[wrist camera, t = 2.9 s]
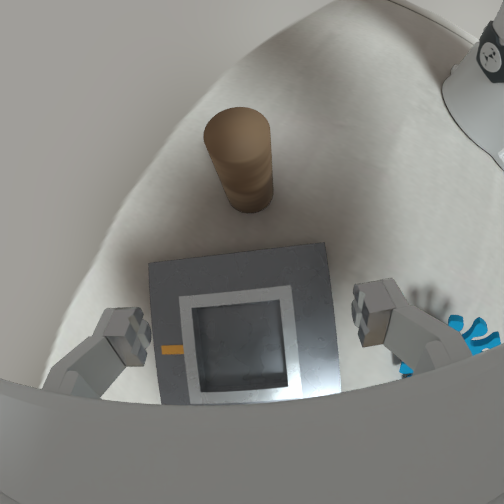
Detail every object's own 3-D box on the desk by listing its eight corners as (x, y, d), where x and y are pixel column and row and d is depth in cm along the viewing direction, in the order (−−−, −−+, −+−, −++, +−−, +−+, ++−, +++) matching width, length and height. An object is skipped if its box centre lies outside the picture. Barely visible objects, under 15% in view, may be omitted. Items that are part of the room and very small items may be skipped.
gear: (377, 357, 22) (479, 302, 16) (389, 318, 27) (471, 266, 20) (430, 424, 21) (518, 387, 15) (437, 383, 26) (512, 345, 19)
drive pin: (270, 168, 28) (265, 103, 18) (276, 210, 27) (274, 155, 18) (225, 174, 29) (202, 112, 19) (229, 216, 28) (204, 164, 18)
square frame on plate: (322, 245, 26) (328, 236, 23) (340, 416, 23) (347, 427, 20) (152, 264, 27) (139, 259, 24) (169, 427, 24) (158, 438, 21)
